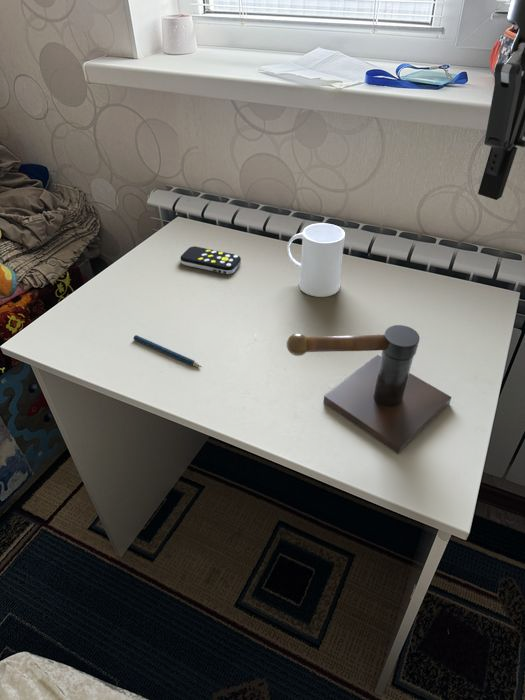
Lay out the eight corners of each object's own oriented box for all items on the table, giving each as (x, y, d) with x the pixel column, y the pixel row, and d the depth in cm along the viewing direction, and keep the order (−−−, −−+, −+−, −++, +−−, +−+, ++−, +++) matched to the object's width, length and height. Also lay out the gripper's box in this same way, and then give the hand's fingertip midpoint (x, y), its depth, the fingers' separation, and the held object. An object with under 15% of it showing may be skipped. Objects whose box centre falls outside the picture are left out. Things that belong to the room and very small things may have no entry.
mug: (277, 284, 105) (278, 231, 97) (298, 265, 111) (300, 214, 103) (328, 302, 100) (333, 248, 92) (347, 282, 106) (353, 229, 98)
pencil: (137, 337, 92) (204, 367, 86) (133, 340, 91) (200, 370, 85) (136, 334, 91) (203, 363, 85) (133, 337, 91) (200, 367, 85)
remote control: (191, 251, 115) (190, 243, 114) (243, 262, 112) (243, 254, 110) (178, 265, 111) (177, 257, 109) (231, 276, 107) (231, 268, 106)
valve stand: (449, 403, 80) (468, 350, 72) (398, 454, 72) (413, 400, 65) (376, 360, 87) (386, 309, 80) (323, 402, 80) (329, 349, 72)
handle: (410, 339, 74) (415, 322, 72) (419, 361, 71) (424, 344, 69) (285, 342, 74) (285, 325, 72) (287, 364, 70) (288, 347, 68)
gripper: (545, -26, 59) (486, 174, 74) (492, -18, 52) (439, 201, 67) (615, -22, 55) (537, 189, 70) (567, -12, 48) (492, 219, 63)
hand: (489, 195), depth 69 cm, fingers closed
